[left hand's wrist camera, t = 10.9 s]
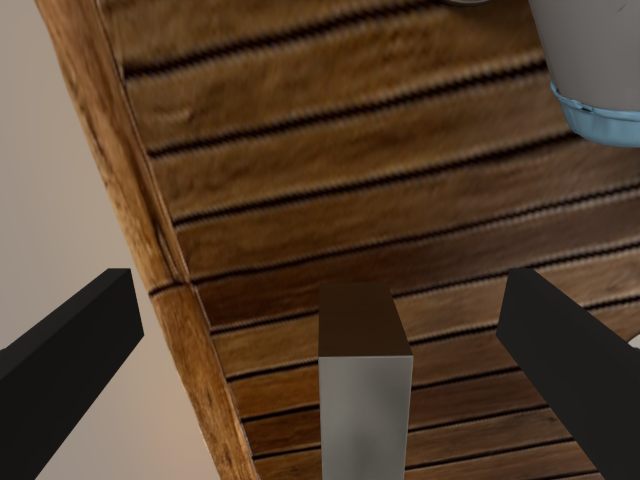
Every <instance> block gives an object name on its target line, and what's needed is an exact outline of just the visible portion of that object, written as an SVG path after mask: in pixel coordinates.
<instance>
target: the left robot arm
mask: <svg viewBox="0 0 640 480" xmlns="http://www.w3.org/2000/svg"><path fill="white" fill-rule="evenodd" d="M438 1H441V2H443V3H446V4H449V5H454V6H476V5H480V4H484V3H487V2H490V1H492V0H438ZM528 1H529V4H530V8H531V11H532V15H533V18H534V21H535V25H536V28H537V32H538V35H539V39H540V42H541V45H542V49H543V52H544V56H545V59H546V63H547V66H548V69H549V73H550V76H551V81H550V86H551V90H552V92H553V94H554V95H555V96H556V97H557V98H558V99H559V102H560V105H561V107H562V110H563V113H564V116H565V119H566V121H567V124H568V125H569V127H570V128H571V129H572V131H574V132H575V133H577V134H579V135H581V136H582V137H583V138H585V139H586V140H588V141H591V142H594V143H598V144H602V145H608V146H616V147H640V0H528ZM143 336H144V331H143V327H142V322H141V317H140V312H139V307H138V303H137V298H136V293H135V288H134V284H133V279H132V274H131V269H130V268H108V269H107V270H106V271H104V272H103V273H102V274H100V275H99V276H98V277H97V278H95V279H94V280H93V281H91V282H90V283H89V284H88V285H86V286H85V287H84V288H82V289H81V290H80V291H79V292H77V293H76V294H75V295H73V296H72V297H71V298H70V299H68V300H67V301H66V302H64V303H63V304H62V305H61V306H59V307H58V308H57V309H55V310H54V311H53V312H51V313H50V314H49V315H48V316H46V317H45V318H44V319H43V320H41V321H40V322H39V323H37V324H36V325H35V326H33V327H32V328H31V329H30V330H28V331H27V332H26V333H24V334H23V335H22V336H21V337H19V338H18V339H17V340H15V341H14V342H13V343H12V344H10V345H9V346H8V347H6V348H5V349H2V350H0V480H35V479H36V477H37V476H38V475H39V473H40V472H41V471H42V469H43V468H44V467H45V465H46V464H47V463H48V462H49V460H50V459H51V458H52V456H53V455H54V454H55V452H56V451H57V450H58V448H59V447H60V446H61V444H62V443H63V442H64V440H65V439H66V438H67V436H68V435H69V434H70V433H71V431H72V430H73V429H74V427H75V426H76V425H77V423H78V422H79V421H80V419H81V418H82V417H83V415H84V414H85V413H86V411H87V410H88V409H89V407H90V406H91V405H92V403H93V402H94V401H95V400H96V398H97V397H98V396H99V394H100V393H101V392H102V390H103V389H104V388H105V386H106V385H107V384H108V382H109V381H110V380H111V378H112V377H113V376H114V375H115V373H116V372H117V371H118V369H119V368H120V367H121V365H122V364H123V363H124V361H125V360H126V359H127V357H128V356H129V355H130V354H131V352H132V351H133V350H134V348H135V347H136V346H137V344H138V343H139V342H140V340H141V339H142V338H143ZM496 336H497V338H498V339H499V340H500V342H501V343H502V344H503V346H504V347H505V348H506V350H507V351H508V352H509V354H510V355H511V356H512V357H513V359H514V360H515V361H516V363H517V364H518V365H519V367H520V368H521V369H522V371H523V372H524V373H525V375H526V376H527V377H528V379H529V380H530V381H531V382H532V384H533V385H534V386H535V388H536V389H537V390H538V392H539V393H540V394H541V396H542V397H543V398H544V400H545V401H546V402H547V404H548V405H549V406H550V408H551V409H552V410H553V411H554V413H555V414H556V415H557V417H558V418H559V419H560V421H561V422H562V423H563V425H564V426H565V427H566V429H567V430H568V431H569V433H570V434H571V435H572V436H573V438H574V439H575V440H576V442H577V443H578V444H579V446H580V447H581V448H582V450H583V451H584V452H585V454H586V455H587V456H588V458H589V459H590V460H591V462H592V463H593V464H594V465H595V467H596V468H597V469H598V471H599V472H600V473H601V475H602V476H603V477H604V479H605V480H640V349H639V348H637V347H632V346H631V345H630V344H628V343H627V342H626V341H625V340H623V339H622V338H621V337H619V336H618V335H617V334H616V333H614V332H613V331H612V330H610V329H609V328H608V327H607V326H605V325H604V324H603V323H601V322H600V321H599V320H598V319H596V318H595V317H594V316H592V315H591V314H590V313H589V312H587V311H586V310H585V309H583V308H582V307H581V306H579V305H578V304H577V303H576V302H574V301H573V300H572V299H570V298H569V297H568V296H567V295H565V294H564V293H563V292H561V291H560V290H559V289H558V288H556V287H555V286H554V285H552V284H551V283H550V282H549V281H547V280H546V279H545V278H543V277H542V276H541V275H540V274H538V273H537V272H536V271H534V270H533V269H532V268H510V269H509V274H508V279H507V284H506V288H505V293H504V298H503V303H502V307H501V312H500V317H499V322H498V327H497V331H496Z"/></svg>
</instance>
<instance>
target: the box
mask: <svg viewBox="0 0 640 480" xmlns="http://www.w3.org/2000/svg"><path fill="white" fill-rule="evenodd" d="M318 364H319V392H320V421H321V449H322V477H323V480H404V468H405V455H406V443H407V430H408V418H409V405H410V393H411V380H412V368H413V354H412V351H411V348H410V345H409V343H408V340H407V337H406V334H405V332H404V329H403V326H402V323H401V320H400V318H399V315H398V312H397V309H396V306H395V304H394V301H393V298H392V295H391V292H390V290H389V287H388V284H387V282H369V283H321V284H320V296H319V347H318Z"/></svg>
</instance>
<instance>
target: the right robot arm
mask: <svg viewBox="0 0 640 480" xmlns="http://www.w3.org/2000/svg"><path fill="white" fill-rule="evenodd" d="M628 344H630V345H631V346H632V347H637V348H639V349H640V334H639V335H638V336H636V337H635V338H633V339H632V340H631V341H629V342H628Z"/></svg>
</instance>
